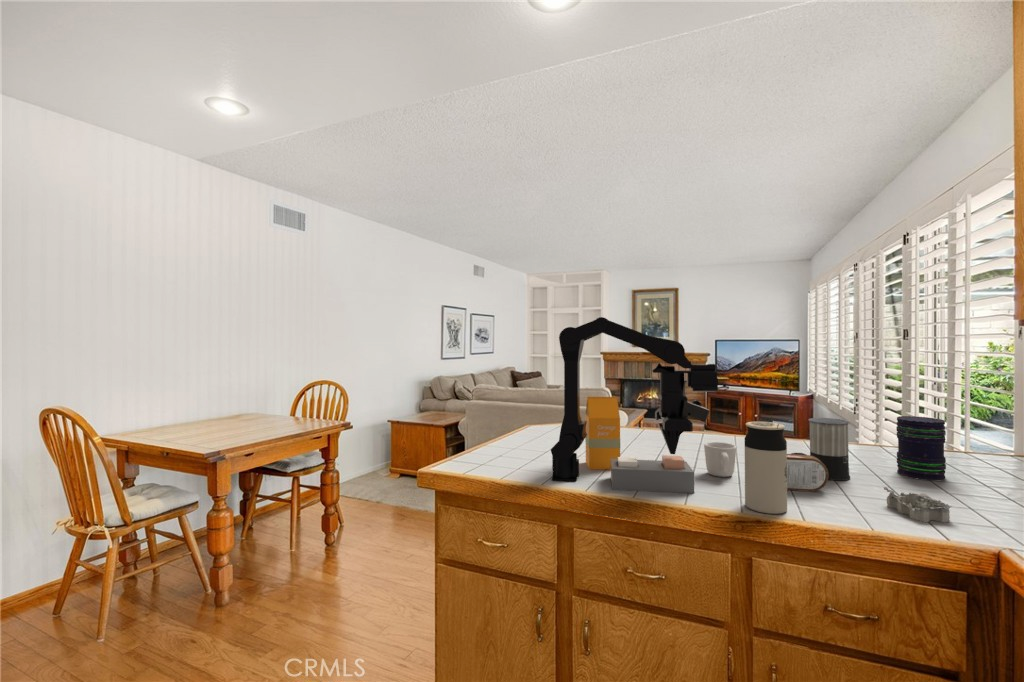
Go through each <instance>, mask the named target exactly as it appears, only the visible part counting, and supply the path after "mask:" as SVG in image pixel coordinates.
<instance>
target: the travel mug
mask: <svg viewBox="0 0 1024 682" xmlns="http://www.w3.org/2000/svg"><path fill="white" fill-rule="evenodd" d="M745 426H746V427H747V428H746V429H747V433H746V435H745V437H744V505H745V507H747V508H748V509H750V510H752V511H754V512H757V513H761V514H768V515H780V514H784V513H787V511H788V490H787V454H788V451H787V449H788V441H787V440H786V438H785V436H784V430H785V428H786V426H785V425H784V424H781V423H778V422H770V421H748V422H746V423H745Z"/></svg>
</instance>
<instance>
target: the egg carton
mask: <svg viewBox="0 0 1024 682" xmlns="http://www.w3.org/2000/svg"><path fill="white" fill-rule="evenodd" d="M883 490H886V492H888V493H889V494H888V496H887V497H886V505H887V507H888V508H890V509H896V510H897V512H898V513H901V514H905V515H908V516H909V518H910V519H912V520H917V521H921V522H923V523H924V522H926V523H929V522H930V521H937V522H941V523H949V521H950V519H951V518H950V517H951V516H950V508H952V507H953V506H954V505H949V504H948V503H945V502H942V500H940V499H939V500H937V499H935V498H932V497H931V496H929V495H928V494H926V493H923V492H922V493H913V492H912V493H911V492H909V493H907V494H905V492H901V493H900V494H899V495H897V494H895V492H894V490H891V489H889V488H887V487H886V486H884V487H883ZM913 507H914V508H913Z"/></svg>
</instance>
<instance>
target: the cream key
mask: <svg viewBox="0 0 1024 682" xmlns="http://www.w3.org/2000/svg"><path fill="white" fill-rule="evenodd" d="M637 460H638V458H637V457H631V456H630V457H629V456H628V457H627V456H620V457H618V466H619V467H638V462H637Z"/></svg>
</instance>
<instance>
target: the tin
mask: <svg viewBox="0 0 1024 682" xmlns="http://www.w3.org/2000/svg"><path fill="white" fill-rule="evenodd" d="M828 476H829V475H828V470H827V468H826V466H825V465H824V464H823V463H822V462H821V461H820V460H819V459H818V458H816V457H814V456H811V455H810V454H806V455H797V454H791V453H787V491H800V492H801V491H802V492H817V491H819V490H821V489H823V488H825V486H826V485H827V483H828V480H829V479H828Z"/></svg>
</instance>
